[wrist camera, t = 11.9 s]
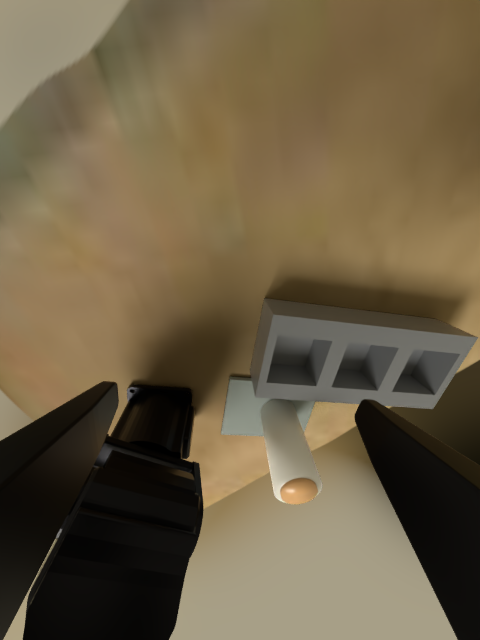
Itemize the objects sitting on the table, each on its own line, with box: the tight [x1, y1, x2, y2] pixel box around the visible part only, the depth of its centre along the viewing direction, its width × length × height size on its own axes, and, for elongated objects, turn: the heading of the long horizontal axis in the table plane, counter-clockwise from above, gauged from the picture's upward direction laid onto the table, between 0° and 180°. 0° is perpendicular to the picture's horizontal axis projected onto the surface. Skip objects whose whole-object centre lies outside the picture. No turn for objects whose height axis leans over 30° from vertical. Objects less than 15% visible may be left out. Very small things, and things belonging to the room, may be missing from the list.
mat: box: [221, 377, 315, 436], centre depth 26 cm, size 10×8×1 cm
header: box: [250, 298, 478, 409], centre depth 21 cm, size 18×8×4 cm, turn 82°
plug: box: [260, 399, 323, 504], centre depth 22 cm, size 4×4×8 cm
